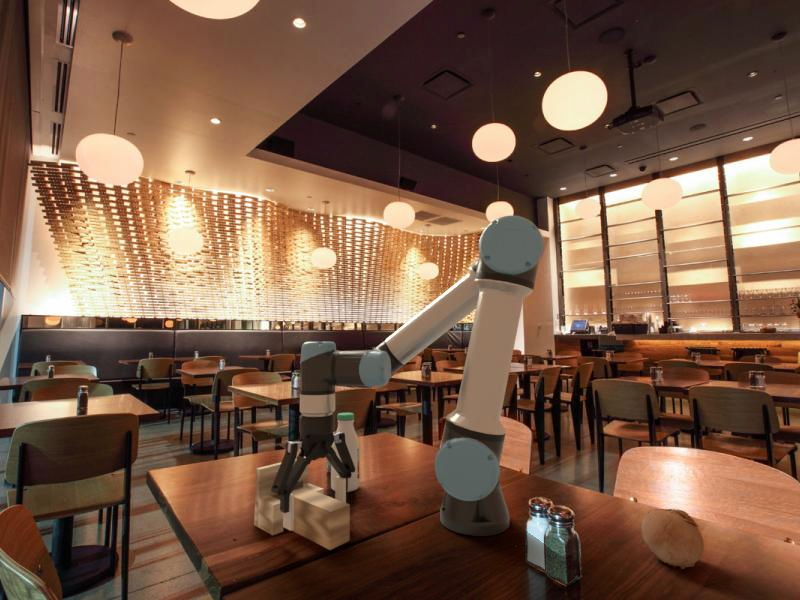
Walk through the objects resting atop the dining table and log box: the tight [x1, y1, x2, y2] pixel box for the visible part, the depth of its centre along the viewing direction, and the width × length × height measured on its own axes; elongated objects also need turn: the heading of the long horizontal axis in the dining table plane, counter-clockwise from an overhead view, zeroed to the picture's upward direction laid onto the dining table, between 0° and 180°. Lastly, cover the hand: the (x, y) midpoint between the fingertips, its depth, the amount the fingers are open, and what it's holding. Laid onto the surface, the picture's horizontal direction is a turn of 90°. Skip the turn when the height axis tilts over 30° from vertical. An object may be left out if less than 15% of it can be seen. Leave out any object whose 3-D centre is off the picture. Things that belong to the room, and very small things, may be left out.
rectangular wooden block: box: [291, 480, 351, 551], centre depth 88 cm, size 17×5×8 cm, turn 48°
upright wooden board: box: [253, 456, 325, 536], centre depth 94 cm, size 8×13×12 cm, turn 138°
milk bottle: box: [330, 412, 360, 493], centre depth 115 cm, size 8×8×20 cm
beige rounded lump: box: [640, 508, 705, 570], centre depth 75 cm, size 10×9×10 cm
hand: (315, 517), depth 87 cm, fingers open, 13 cm apart
